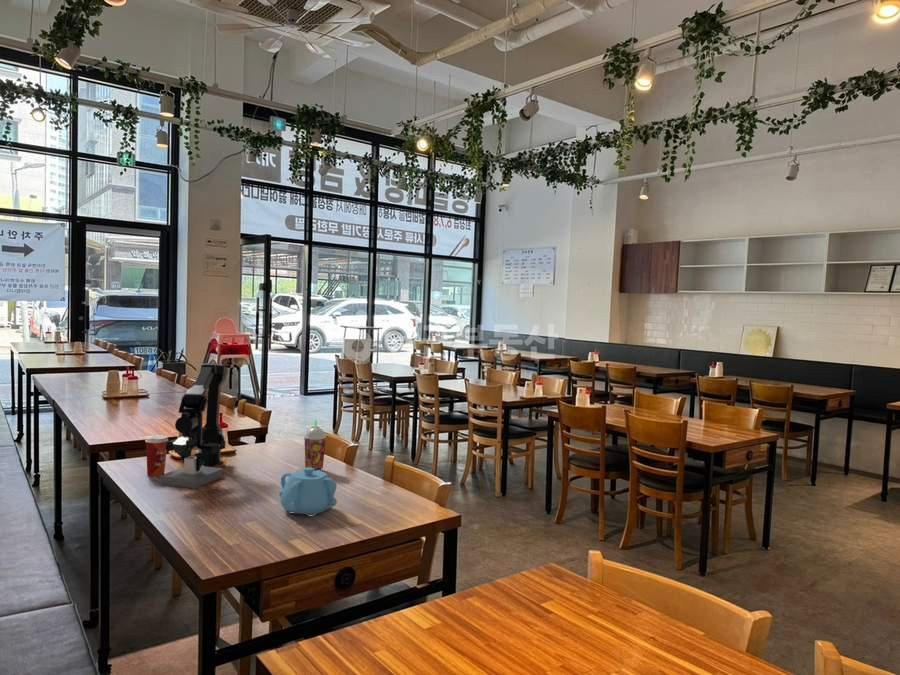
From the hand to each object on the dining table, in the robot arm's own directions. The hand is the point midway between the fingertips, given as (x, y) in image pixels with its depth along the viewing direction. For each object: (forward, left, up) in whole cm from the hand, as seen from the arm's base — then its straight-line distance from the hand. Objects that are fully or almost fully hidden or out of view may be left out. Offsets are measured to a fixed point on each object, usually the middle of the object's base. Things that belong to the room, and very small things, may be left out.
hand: (192, 470), depth 218 cm
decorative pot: (+14, +52, -4) cm, 54 cm away
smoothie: (-28, +34, -4) cm, 44 cm away
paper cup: (-1, -16, -4) cm, 16 cm away
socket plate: (0, 0, -4) cm, 4 cm away
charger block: (0, 0, -1) cm, 1 cm away
